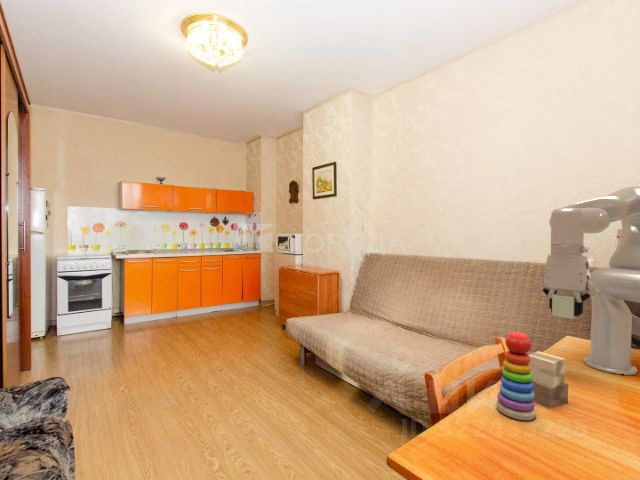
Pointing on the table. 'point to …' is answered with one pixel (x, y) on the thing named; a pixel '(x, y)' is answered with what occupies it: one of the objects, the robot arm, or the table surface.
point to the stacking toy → (517, 380)
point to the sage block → (563, 305)
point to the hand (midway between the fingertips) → (565, 312)
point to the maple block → (547, 369)
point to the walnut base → (550, 395)
